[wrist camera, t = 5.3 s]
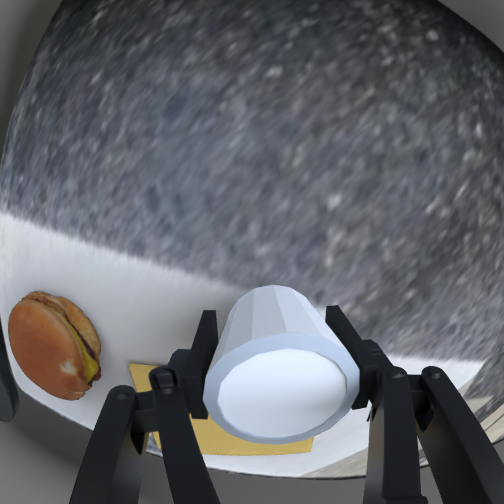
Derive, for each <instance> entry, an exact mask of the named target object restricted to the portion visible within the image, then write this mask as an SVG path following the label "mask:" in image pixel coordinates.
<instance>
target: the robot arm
mask: <svg viewBox="0 0 504 504" xmlns="http://www.w3.org/2000/svg"><path fill="white" fill-rule="evenodd" d="M325 322H326V324H327V325H328V326H329V328H330V329H331V330H332V331H333V333H334V334H335V335H336V336H337V338H338V339H339V340H340V342H341V343H342V344H343V345H344V347H345V348H346V349H347V351H348V352H349V354H350V355H351V357H352V359H353V360H354V362H355V363H356V365H357V367H358V368H359V393H358V395H357V397H356V399H355V401H354V403H353V405H352V406H351V408H352V410H355V409H360V408H366V407H367V404H368V401H369V400H370V402H371V403H372V407H371V410H370V413H369V416H368V419H367V421H369V419H370V429H369V448H368V461H367V472H366V483H365V490H364V498H363V504H428V500H427V498H426V497H425V496H422V495H421V485H420V465H419V451H418V441H417V436H418V439H419V441H420V443H421V446H422V448H423V451H424V453H425V456H426V458H427V461H428V463H429V466H430V468H431V471H432V473H433V476H434V479H435V482H436V484H437V487H438V490H439V492H440V495H441V498H442V501H443V504H504V465H503V463H502V461H501V459H500V457H499V455H498V454H497V452H496V450H495V448H494V447H493V445H492V443H491V442H490V440H489V438H488V437H487V435H486V433H485V432H484V430H483V428H482V427H481V425H480V424H479V422H478V420H477V419H476V417H475V416H474V414H473V413H472V411H471V410H470V408H469V407H468V405H467V404H466V402H465V401H464V399H463V398H462V396H461V395H460V393H459V392H458V390H457V389H456V387H455V386H454V385H453V383H452V382H451V380H450V379H449V378H448V376H447V375H446V373H445V372H444V371H443V370H442V369H440V368H438V367H435V366H428V367H425V368H424V369H423V370H422V373H421V375H409V374H407V372H406V371H405V370H404V369H403V368H400V367H397V366H393V365H392V363H391V362H390V361H389V359H388V358H387V356H386V355H385V354H384V352H383V351H382V350H381V348H380V347H379V346H378V344H377V343H375V342H374V341H372V340H371V339H368V340H362V339H361V338H360V336H359V335H358V333H357V332H356V331H355V329H354V328H353V326H352V325H351V323H350V322H349V320H348V319H347V318H346V316H345V315H344V313H343V312H342V310H341V309H340V308H339V306H338V305H335V306H327V307H326V319H325ZM218 343H219V342H218V331H217V319H216V310H204V311H203V314H202V317H201V320H200V323H199V326H198V329H197V332H196V335H195V338H194V341H193V344H192V348H191V349H177V350H176V351H175V352H174V353H173V354H172V356H171V358H170V361H169V363H168V366H159V367H156V368H154V369H152V370H151V371H150V372H149V375H148V378H149V381H150V385H151V388H152V390H150V391H145V392H137V393H136V392H135V390H134V388H132V387H131V386H127V385H119V386H116V387H114V388H113V389H111V390H110V392H109V393H108V395H107V398H106V400H105V403H104V405H103V407H102V410H101V412H100V415H99V417H98V420H97V423H96V425H95V428H94V430H93V433H92V436H91V438H90V441H89V444H88V447H87V450H86V452H85V455H84V458H83V461H82V464H81V467H80V470H79V473H78V476H77V479H76V482H75V485H74V488H73V492H72V495H71V498H70V502H69V504H138V499H139V491H140V484H141V478H142V472H143V465H144V459H145V454H146V448H147V442H148V437H149V432H157V431H158V433H159V438H160V444H161V449H162V454H163V459H164V464H165V468H166V473H167V477H168V481H169V485H170V489H171V492H172V497H173V500H174V504H220V501H219V499H218V496H217V494H216V491H215V489H214V487H213V484H212V481H211V479H210V477H209V473H208V471H207V468H206V465H205V462H204V460H203V457H202V454H201V451H200V448H199V445H198V442H197V439H196V436H195V433H194V430H193V426H192V423H191V420H190V416H189V415H190V413H191V417H192V419H203V420H208V415H209V413H208V410H207V408H206V406H205V404H204V401H203V394H204V387H205V379H206V375H207V373H208V370H209V367H210V365H211V362H212V359H213V356H214V354H215V351H216V348H217V346H218Z"/></svg>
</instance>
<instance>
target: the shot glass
mask: <svg viewBox="0 0 504 504" xmlns="http://www.w3.org/2000/svg"><path fill="white" fill-rule="evenodd" d="M358 393H359V368H358V367H357V365H356V363H355V362H354V360H353V359H352V357H351V355H350V354H349V352H348V351H347V349H346V348H345V347H344V345H343V344H342V343H341V342H340V340H339V339H338V338H337V336H336V335H335V334H334V333H333V331H332V330H331V329H330V328H329V326H328V325H327V324H326V322H325V321H324V320H323V319H322V317H321V316H320V315H319V314H318V312H317V311H316V310H315V309H314V307H313V306H312V305H311V304H310V302H309V301H308V300H307V298H306V297H305V296H303V295H302V294H300V293H298V292H297V291H295V290H294V289H292V288H290V287H284V286H278V285H269V286H264V287H259V288H254V289H253V290H251V291H250V292H248V293H247V294H245V295H243V296H242V297H240V298H239V299H238V301H237V302H236V304H235V305H234V307H233V308H232V310H231V311H230V313H229V316H228V319H227V321H226V324H225V327H224V329H223V332H222V335H221V337H220V340H219V343H218V346H217V348H216V351H215V354H214V356H213V359H212V362H211V365H210V367H209V370H208V373H207V375H206V379H205V387H204V394H203V401H204V404H205V406H206V408H207V410H208V413H209V415H210V417H211V419H212V420H213V421H214V422H215V423H216V424H218V425H219V426H220V427H221V428H222V429H224V430H225V431H226V432H227V433H229V434H230V435H233V436H235V437H238V438H241V439H243V440H246V441H249V442H252V443H259V444H274V445H281V444H287V443H293V442H298V441H303V440H307V439H309V438H311V437H313V436H316V435H318V434H320V433H322V432H324V431H326V430H328V429H330V428H331V427H332V426H333V425H335V424H336V423H337V422H338V421H339V420H340V419H341V418H342V417H343V416H345V415H346V414H347V413H348V412H349V410H350V408H351V406H352V405H353V403H354V401H355V399H356V397H357V395H358Z"/></svg>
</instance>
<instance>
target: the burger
mask: <svg viewBox="0 0 504 504" xmlns="http://www.w3.org/2000/svg"><path fill="white" fill-rule="evenodd" d="M8 334H9V341H10V345H11V349H12V352H13V355H14V357H15V359H16V361H17V363H18V365H19V366H20V368H21V369H22V371H23V372H24V374H25V375H26V376H27V377H28V378H29V379H30V380H31V381H32V382H34V383H35V384H36V385H37V386H39V387H40V388H42V389H43V390H44V391H46V392H47V393H49V394H51V395H53V396H55V397H58V398H61V399H65V400H71V401H72V400H79V398H81V397H83V396H84V395H85V391H87V390H89V389H90V387H92V382H93V380H94V381H98V380H99V379H100V378H101V374H100V372H101V367H100V365H99V354H100V352H101V345H100V341H99V338H98V335H97V333H96V331H95V329H94V327H93V325H92V324H91V322H90V321H89V318H86V317H85V316H84V314H83V312H82V311H81V310H80V309H79V308H78V307H77V306H76V305H74V304H73V303H72V302H70V301H69V300H67V299H65V298H63V297H52V296H51V295H50V294H47V293H44V292H37V291H36V292H32V293H30V294H28V295H27V296H26V297H24V298H22V300H21V301H20V302H18V303H17V304H16V305H15V307H14V308H13V309H12V312H11V314H10V316H9V321H8Z"/></svg>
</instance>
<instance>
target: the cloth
mask: <svg viewBox="0 0 504 504" xmlns="http://www.w3.org/2000/svg"><path fill="white" fill-rule="evenodd" d="M156 367H159V366H152V365H142V364H133V363H130V365H129V368H130V371H131V374H132V378H133V381H134V384H135V387H136V390H137V392H145V391H150V390H152V388H151V385H150V381H149V378H148V375H149V372H150V371H151V370H152V369H154V368H156ZM189 416H190V420H191V423H192V426H193V430H194V433H195V436H196V439H197V442H198V445H199V448H200V451H201V454H211V455H238V456H253V455H281V454H294V453H305V452H310V451H311V447H312V442H313V437H314V436H313V437H311V438H309V439H307V440H303V441H298V442H293V443H287V444H281V445H274V444H259V443H252V442H249V441H246V440H243V439H241V438H238V437H235V436H233V435H230V434H229V433H227V432H226V431H225V430H224V429H222V428H221V427H220V426H219V425H218V424H216V423H215V422H214V421H213V420H212V419H211V417H210V415H208V420H203V419H192V417H191V413H190V415H189ZM152 433H153V436H154V438H155V440H156V443H157V445H158V447H159V449H161V444H160V438H159V433H158V431H157V432H152Z"/></svg>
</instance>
